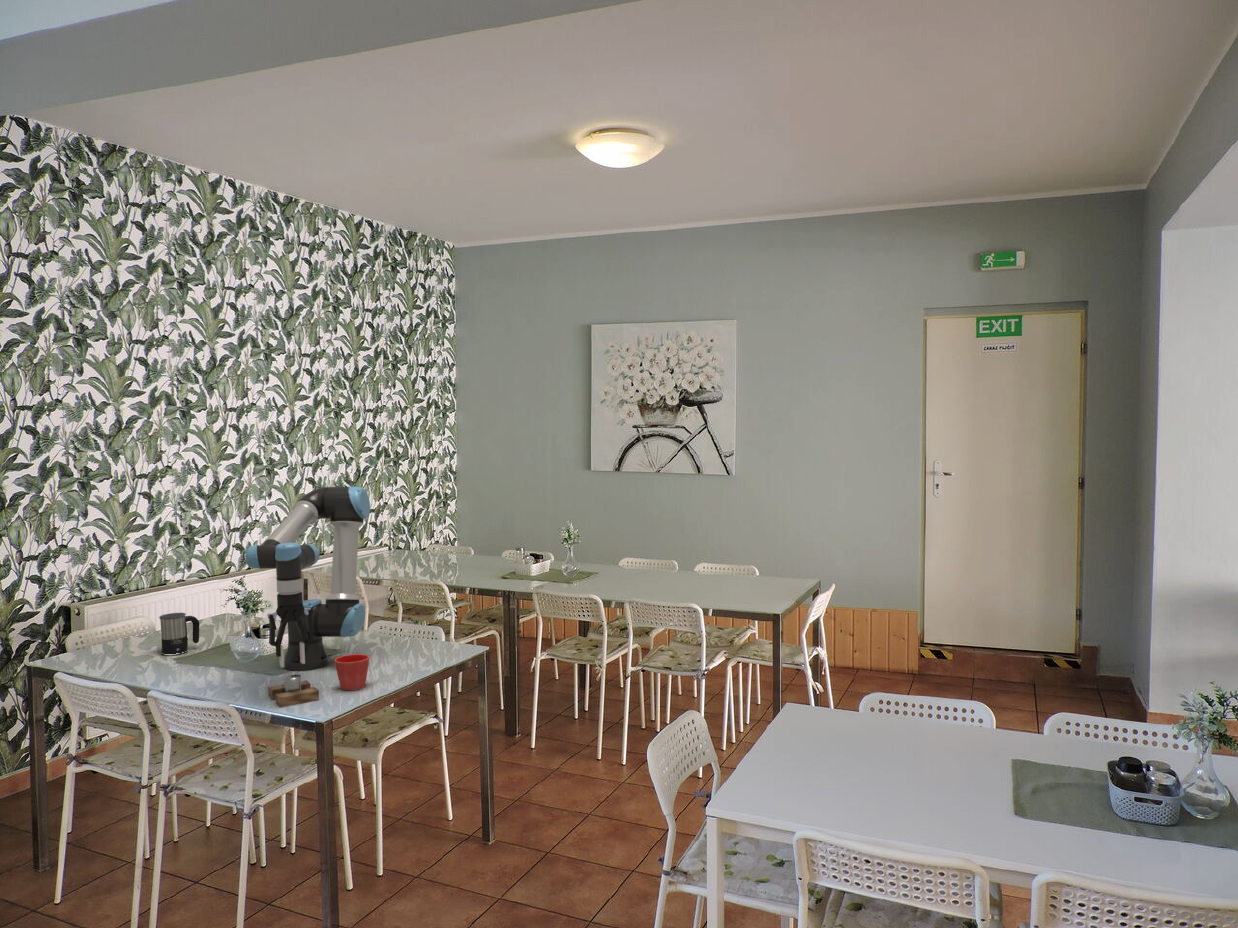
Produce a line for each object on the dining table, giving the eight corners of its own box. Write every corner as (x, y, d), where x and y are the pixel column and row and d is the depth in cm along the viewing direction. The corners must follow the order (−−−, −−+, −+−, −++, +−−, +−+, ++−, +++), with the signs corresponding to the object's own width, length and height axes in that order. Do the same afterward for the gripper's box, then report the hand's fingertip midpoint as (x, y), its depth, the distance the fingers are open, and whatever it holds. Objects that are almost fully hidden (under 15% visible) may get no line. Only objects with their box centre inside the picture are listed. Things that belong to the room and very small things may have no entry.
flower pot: (339, 682, 297) (338, 654, 297) (372, 681, 298) (372, 653, 298) (332, 692, 287) (331, 662, 286) (366, 691, 288) (365, 661, 287)
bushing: (299, 694, 285) (298, 673, 285) (303, 698, 281) (302, 677, 281) (283, 697, 282) (282, 676, 282) (287, 701, 278) (286, 679, 278)
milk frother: (170, 657, 334) (168, 618, 334) (145, 652, 343) (144, 614, 342) (204, 648, 347) (202, 611, 346) (180, 644, 355) (178, 607, 354)
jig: (306, 689, 291) (306, 680, 291) (319, 699, 280) (318, 690, 279) (268, 696, 284) (268, 686, 284) (279, 707, 273) (279, 697, 273)
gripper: (316, 586, 289) (318, 657, 290) (255, 594, 278) (258, 667, 279) (323, 590, 282) (325, 662, 284) (261, 597, 272) (264, 672, 273)
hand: (292, 664), depth 281 cm, fingers open, 6 cm apart
